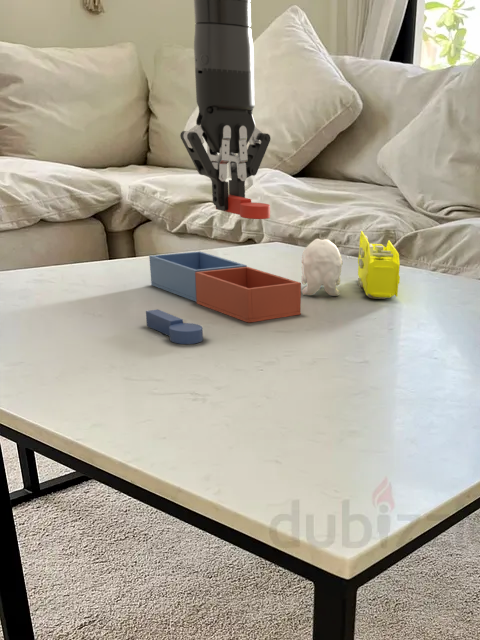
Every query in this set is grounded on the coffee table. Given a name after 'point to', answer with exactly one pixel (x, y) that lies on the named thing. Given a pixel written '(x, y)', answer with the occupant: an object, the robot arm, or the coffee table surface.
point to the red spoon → (247, 208)
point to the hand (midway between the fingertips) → (229, 209)
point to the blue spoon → (174, 327)
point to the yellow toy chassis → (378, 269)
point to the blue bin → (184, 271)
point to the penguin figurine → (321, 267)
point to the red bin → (248, 294)
